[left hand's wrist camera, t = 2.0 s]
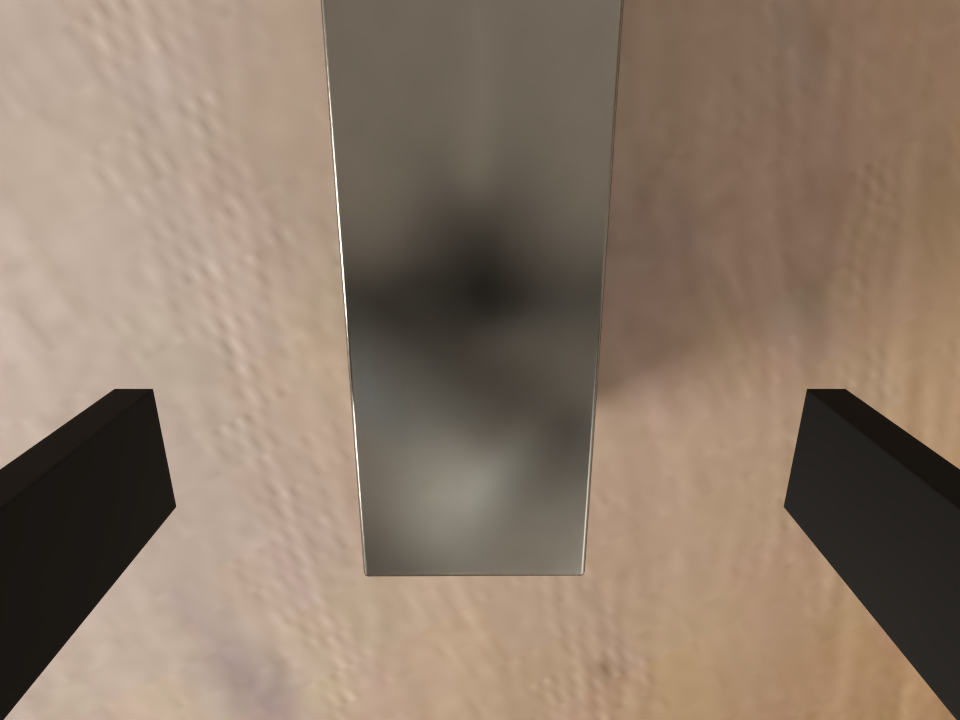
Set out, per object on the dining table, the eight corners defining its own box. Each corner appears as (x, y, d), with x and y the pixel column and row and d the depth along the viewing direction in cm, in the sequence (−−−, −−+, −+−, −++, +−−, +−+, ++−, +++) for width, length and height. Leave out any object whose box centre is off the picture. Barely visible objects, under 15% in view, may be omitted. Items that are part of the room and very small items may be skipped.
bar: (545, 418, 23) (585, 577, 15) (404, 418, 23) (363, 578, 15) (582, -533, 15) (722, -1414, 6) (361, -534, 15) (210, -1423, 6)
